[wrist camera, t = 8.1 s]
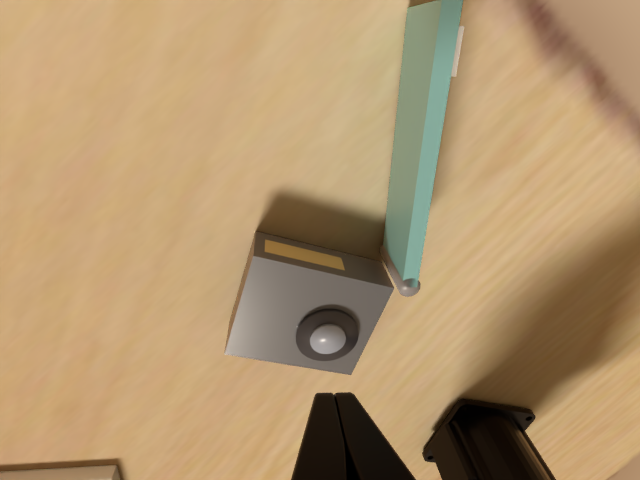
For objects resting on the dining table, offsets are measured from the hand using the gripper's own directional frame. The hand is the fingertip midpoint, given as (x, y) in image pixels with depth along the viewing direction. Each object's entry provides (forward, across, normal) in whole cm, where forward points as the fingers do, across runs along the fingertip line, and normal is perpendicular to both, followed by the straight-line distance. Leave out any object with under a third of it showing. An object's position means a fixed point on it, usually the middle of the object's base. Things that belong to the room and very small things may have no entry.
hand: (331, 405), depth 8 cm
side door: (+11, -4, -3) cm, 13 cm away
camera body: (+12, 0, +5) cm, 13 cm away
